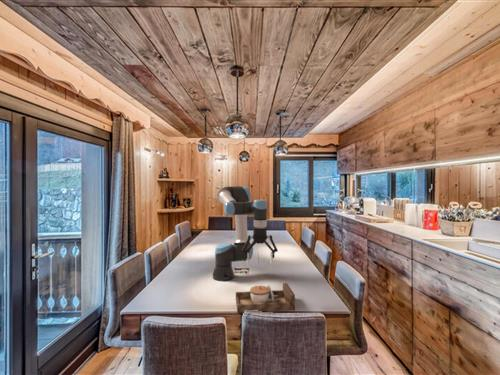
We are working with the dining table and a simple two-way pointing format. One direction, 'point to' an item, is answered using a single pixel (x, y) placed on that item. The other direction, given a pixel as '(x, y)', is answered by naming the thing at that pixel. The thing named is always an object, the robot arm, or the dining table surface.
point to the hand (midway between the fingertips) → (259, 264)
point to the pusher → (272, 295)
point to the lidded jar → (260, 294)
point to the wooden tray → (279, 304)
